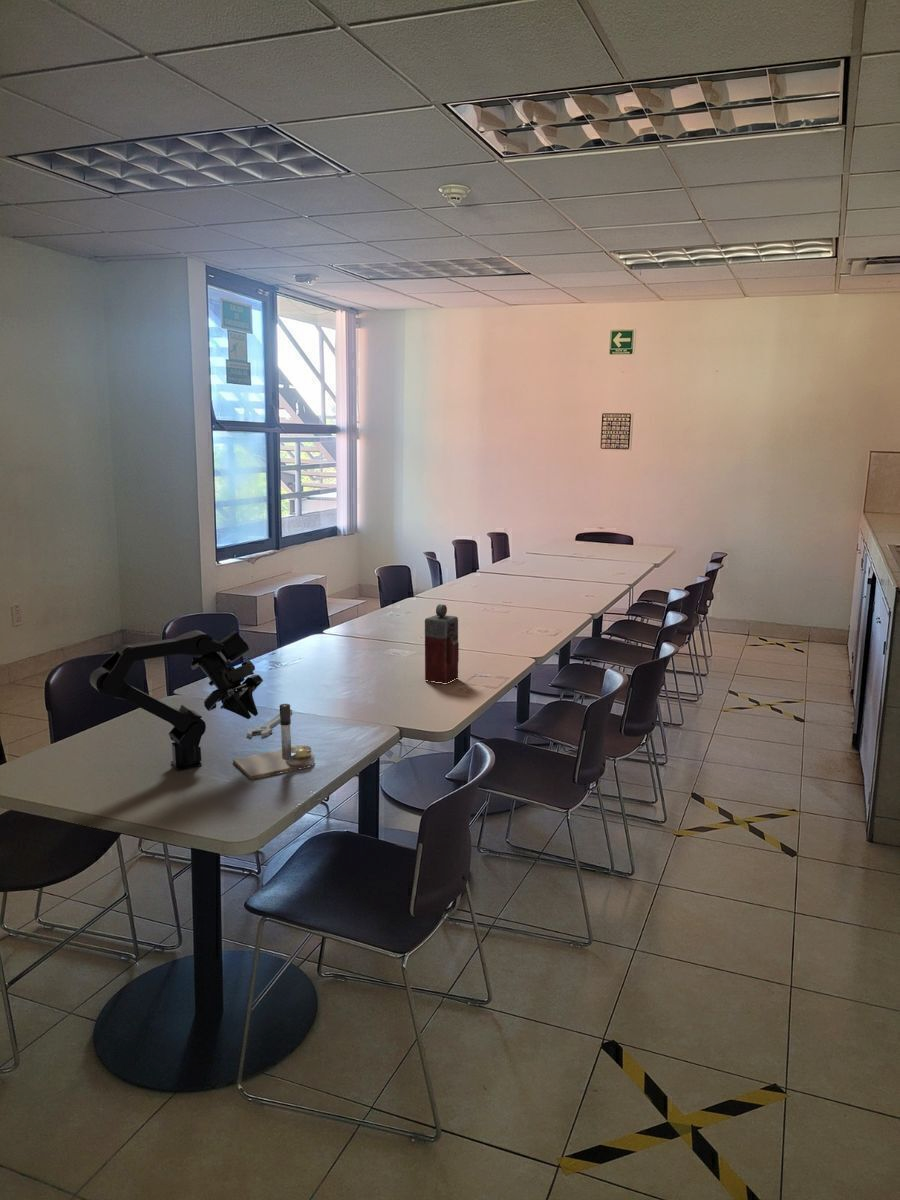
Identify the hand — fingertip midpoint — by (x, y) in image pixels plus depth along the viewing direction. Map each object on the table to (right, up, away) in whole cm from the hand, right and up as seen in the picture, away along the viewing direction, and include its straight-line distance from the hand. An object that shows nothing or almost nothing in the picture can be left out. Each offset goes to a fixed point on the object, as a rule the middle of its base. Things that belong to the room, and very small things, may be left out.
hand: (253, 716), depth 224 cm
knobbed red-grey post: (+50, +1, +84) cm, 97 cm away
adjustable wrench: (-2, -8, +35) cm, 36 cm away
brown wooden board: (+5, -13, +3) cm, 15 cm away
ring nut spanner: (+11, -11, +1) cm, 16 cm away
